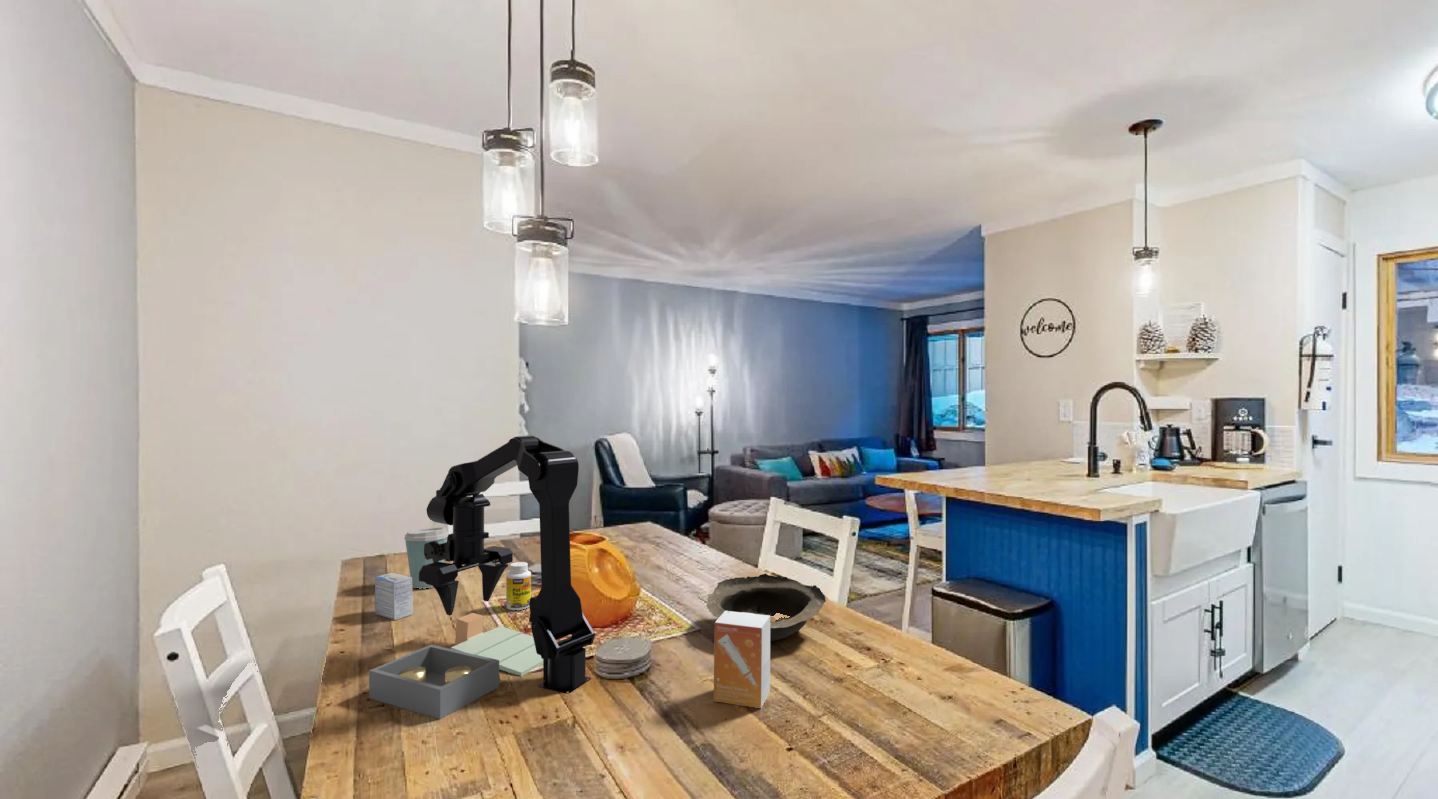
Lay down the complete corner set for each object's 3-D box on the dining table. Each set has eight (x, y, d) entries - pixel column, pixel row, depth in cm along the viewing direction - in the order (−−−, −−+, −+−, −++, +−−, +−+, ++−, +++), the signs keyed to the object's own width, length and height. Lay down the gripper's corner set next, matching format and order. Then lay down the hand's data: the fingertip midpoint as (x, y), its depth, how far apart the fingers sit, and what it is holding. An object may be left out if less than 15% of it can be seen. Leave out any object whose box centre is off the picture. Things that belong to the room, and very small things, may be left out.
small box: (713, 702, 102) (713, 621, 102) (724, 685, 108) (724, 609, 108) (761, 710, 99) (762, 627, 99) (770, 692, 105) (771, 614, 105)
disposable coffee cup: (394, 590, 161) (394, 532, 161) (421, 579, 171) (421, 524, 171) (432, 593, 159) (432, 533, 159) (457, 581, 169) (457, 525, 170)
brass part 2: (476, 689, 105) (476, 668, 105) (457, 700, 101) (457, 678, 101) (458, 685, 106) (459, 664, 106) (439, 695, 103) (439, 673, 103)
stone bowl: (791, 605, 149) (793, 567, 148) (844, 654, 125) (847, 609, 125) (691, 615, 141) (692, 575, 140) (727, 669, 117) (729, 620, 117)
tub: (499, 690, 106) (499, 660, 106) (440, 723, 95) (440, 689, 95) (431, 672, 113) (431, 644, 113) (369, 701, 102) (369, 670, 102)
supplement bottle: (509, 613, 144) (510, 568, 144) (503, 606, 149) (503, 563, 149) (534, 608, 147) (534, 564, 147) (527, 602, 152) (527, 559, 152)
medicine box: (413, 615, 143) (413, 577, 143) (393, 621, 139) (394, 581, 139) (393, 609, 147) (393, 572, 147) (374, 614, 143) (374, 576, 143)
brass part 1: (431, 690, 104) (431, 669, 104) (410, 700, 101) (410, 678, 101) (414, 685, 106) (414, 664, 106) (393, 695, 102) (393, 673, 102)
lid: (565, 661, 121) (568, 631, 121) (520, 688, 110) (522, 654, 110) (486, 635, 130) (488, 606, 130) (436, 657, 119) (439, 625, 118)
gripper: (474, 517, 136) (474, 589, 136) (398, 533, 119) (398, 616, 119) (514, 521, 131) (514, 596, 131) (440, 539, 114) (440, 625, 114)
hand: (468, 607), depth 124 cm, fingers open, 9 cm apart
